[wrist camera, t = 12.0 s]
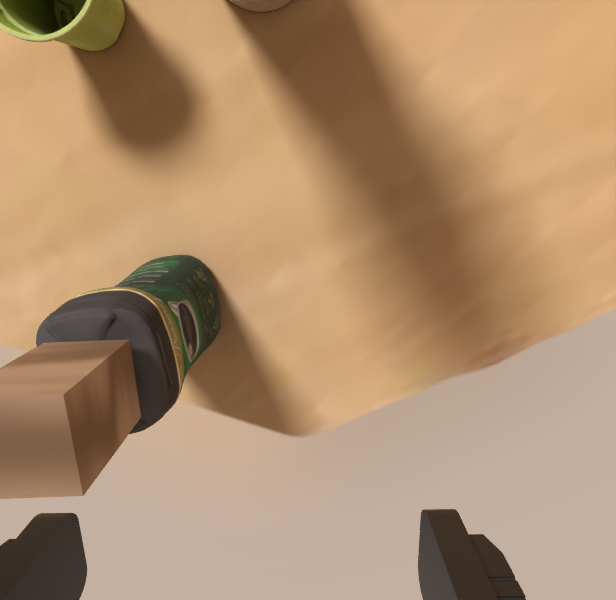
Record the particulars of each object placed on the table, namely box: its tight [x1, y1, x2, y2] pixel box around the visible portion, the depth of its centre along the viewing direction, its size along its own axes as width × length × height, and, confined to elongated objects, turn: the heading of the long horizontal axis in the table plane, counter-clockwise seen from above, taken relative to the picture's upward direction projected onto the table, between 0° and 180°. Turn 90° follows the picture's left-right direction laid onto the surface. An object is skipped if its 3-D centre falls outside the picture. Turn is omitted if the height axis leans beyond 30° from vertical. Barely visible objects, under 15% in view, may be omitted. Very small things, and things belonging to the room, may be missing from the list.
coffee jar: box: [36, 255, 221, 434], centre depth 35 cm, size 10×8×19 cm
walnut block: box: [0, 339, 141, 499], centre depth 22 cm, size 5×5×7 cm
